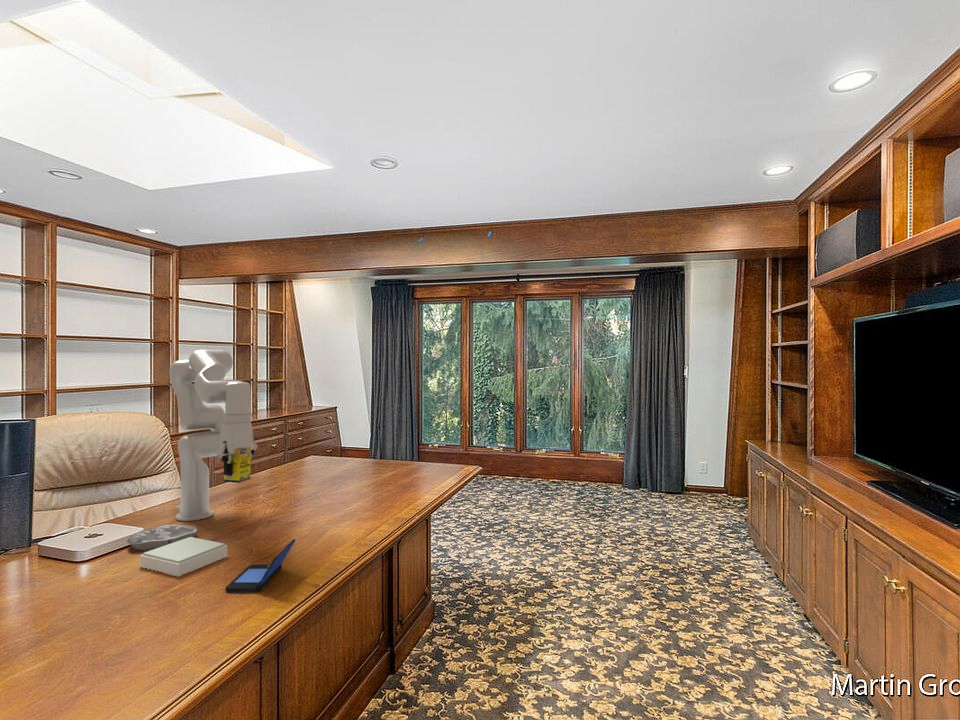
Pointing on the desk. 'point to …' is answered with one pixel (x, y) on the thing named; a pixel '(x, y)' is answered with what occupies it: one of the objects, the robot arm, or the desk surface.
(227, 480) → the supplement box
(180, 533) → the brain slice
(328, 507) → the desk surface
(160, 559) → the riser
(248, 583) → the handheld game console
